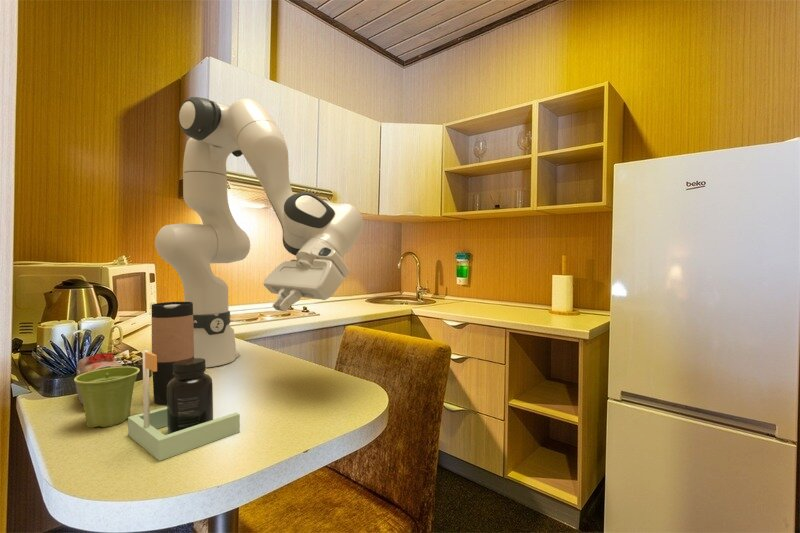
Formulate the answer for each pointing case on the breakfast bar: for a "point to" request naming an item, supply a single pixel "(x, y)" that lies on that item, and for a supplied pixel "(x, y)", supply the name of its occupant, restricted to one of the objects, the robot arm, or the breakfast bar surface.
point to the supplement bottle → (189, 395)
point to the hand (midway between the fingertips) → (278, 308)
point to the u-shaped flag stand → (149, 421)
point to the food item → (95, 365)
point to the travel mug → (170, 342)
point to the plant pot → (107, 394)
